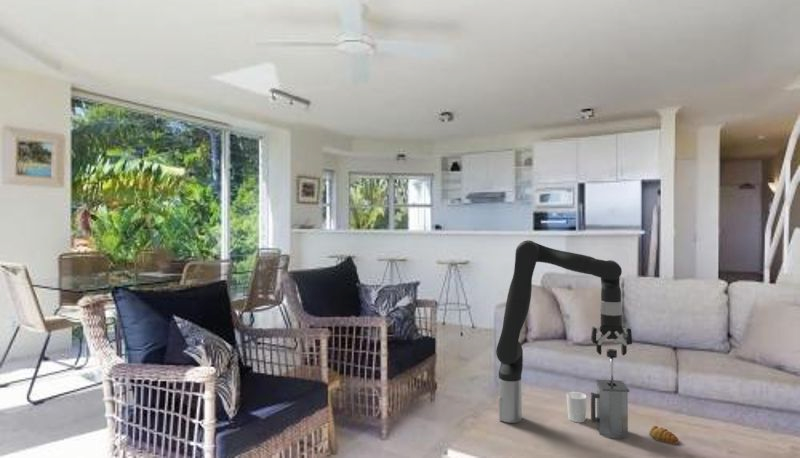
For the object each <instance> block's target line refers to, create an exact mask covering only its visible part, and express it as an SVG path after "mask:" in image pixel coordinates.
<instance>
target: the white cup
mask: <svg viewBox="0 0 800 458" xmlns="http://www.w3.org/2000/svg"><path fill="white" fill-rule="evenodd" d="M565 396H566V409H567V416H568V417H567V419H568V420H569V421H571V422H572V423H573V422H574V423H584V422H585V421H586V416H587V415H586V414H587V400H588V399H587V398H588V397H587V395H586V394H585V393H583V392H580V391H570V392H566V395H565Z"/></svg>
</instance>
